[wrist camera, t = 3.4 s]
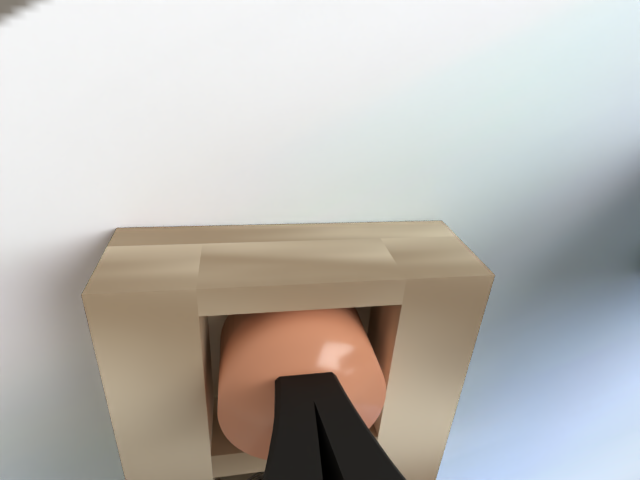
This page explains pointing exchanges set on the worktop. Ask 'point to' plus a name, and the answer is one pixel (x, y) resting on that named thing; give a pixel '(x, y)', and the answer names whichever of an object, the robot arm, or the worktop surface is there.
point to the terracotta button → (291, 367)
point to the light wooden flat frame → (278, 296)
